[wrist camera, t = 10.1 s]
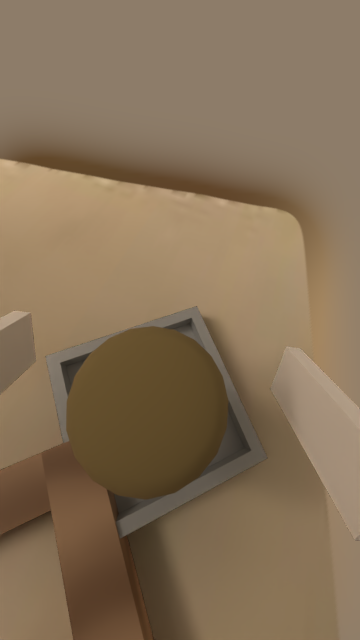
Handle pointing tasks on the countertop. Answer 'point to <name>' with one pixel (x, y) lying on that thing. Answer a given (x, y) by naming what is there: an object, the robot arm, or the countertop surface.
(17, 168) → the countertop surface
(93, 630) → the socket block
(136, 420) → the olive brown bulbous peg
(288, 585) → the countertop surface
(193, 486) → the tray
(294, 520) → the countertop surface
